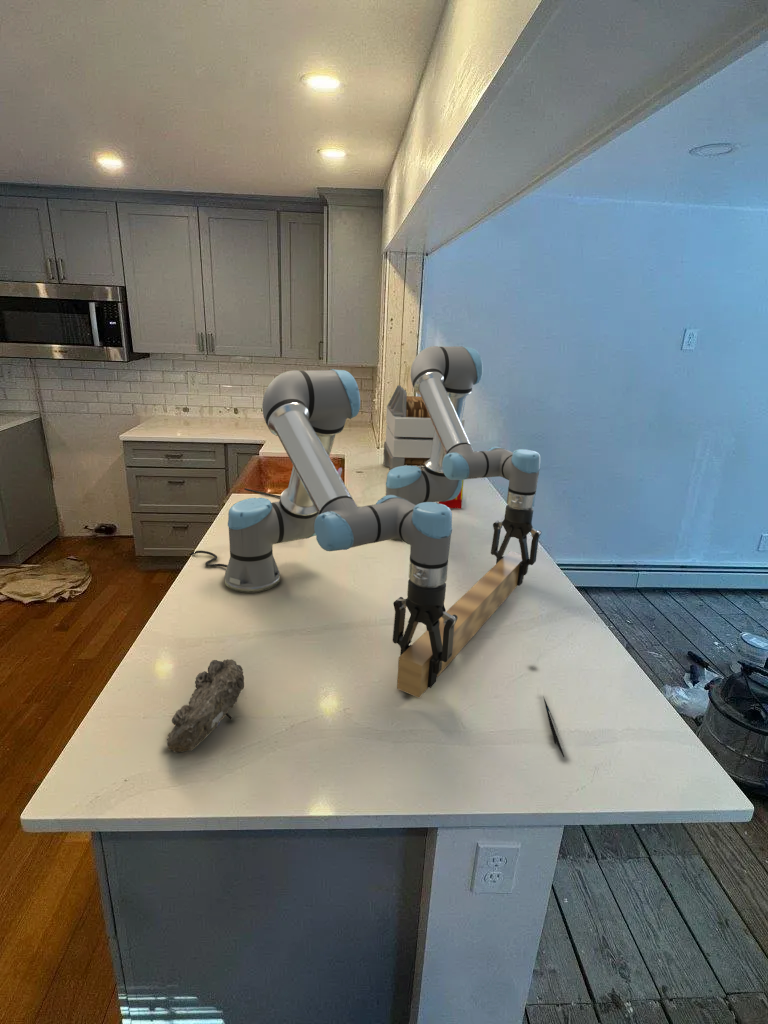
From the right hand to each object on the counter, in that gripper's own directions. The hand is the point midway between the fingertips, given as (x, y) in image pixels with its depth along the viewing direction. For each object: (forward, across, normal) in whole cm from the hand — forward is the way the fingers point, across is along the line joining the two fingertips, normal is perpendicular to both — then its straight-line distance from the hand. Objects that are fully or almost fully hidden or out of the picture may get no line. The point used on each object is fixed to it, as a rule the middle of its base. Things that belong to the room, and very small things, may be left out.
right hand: (509, 580), depth 165 cm
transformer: (+2, -77, +89) cm, 118 cm away
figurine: (+2, -81, +27) cm, 85 cm away
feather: (+1, +25, -48) cm, 55 cm away
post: (+1, 0, -28) cm, 28 cm away
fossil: (+1, -28, -88) cm, 92 cm away
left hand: (0, 0, -56) cm, 56 cm away
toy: (+2, -50, +62) cm, 80 cm away
